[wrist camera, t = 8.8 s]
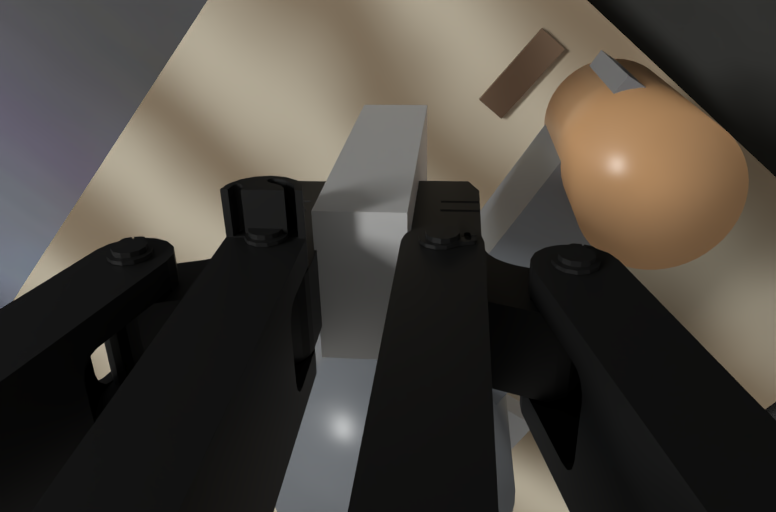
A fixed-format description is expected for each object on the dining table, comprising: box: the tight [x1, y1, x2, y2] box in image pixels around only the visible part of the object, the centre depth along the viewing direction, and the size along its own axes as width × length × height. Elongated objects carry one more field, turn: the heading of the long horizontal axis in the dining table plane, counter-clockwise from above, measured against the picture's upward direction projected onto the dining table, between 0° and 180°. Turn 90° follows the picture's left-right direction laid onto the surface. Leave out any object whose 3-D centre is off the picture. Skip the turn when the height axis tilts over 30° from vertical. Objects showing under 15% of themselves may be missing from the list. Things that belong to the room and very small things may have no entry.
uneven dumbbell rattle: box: [275, 50, 749, 512], centre depth 21 cm, size 10×16×7 cm, turn 148°
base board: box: [13, 0, 776, 512], centre depth 28 cm, size 26×26×4 cm
